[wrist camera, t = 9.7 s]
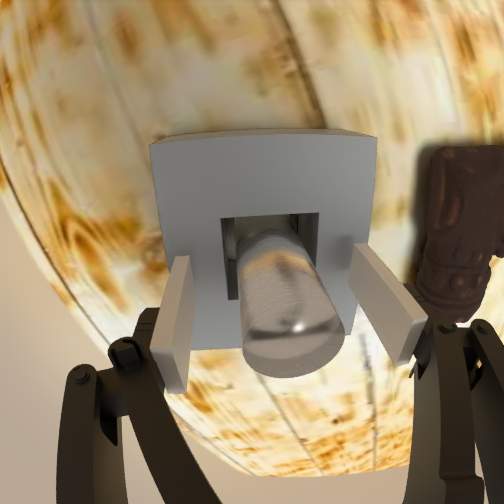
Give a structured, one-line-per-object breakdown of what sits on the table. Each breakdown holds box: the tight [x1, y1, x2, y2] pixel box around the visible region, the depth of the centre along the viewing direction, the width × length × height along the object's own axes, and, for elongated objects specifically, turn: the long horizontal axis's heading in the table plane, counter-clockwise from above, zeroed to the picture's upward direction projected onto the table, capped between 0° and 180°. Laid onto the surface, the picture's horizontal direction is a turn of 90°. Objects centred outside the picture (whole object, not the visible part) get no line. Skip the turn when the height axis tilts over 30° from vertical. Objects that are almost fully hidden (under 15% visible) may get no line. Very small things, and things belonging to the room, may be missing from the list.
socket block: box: [149, 128, 377, 350], centre depth 19 cm, size 14×12×5 cm
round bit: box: [234, 214, 345, 378], centre depth 16 cm, size 4×4×12 cm
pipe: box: [414, 145, 504, 323], centre depth 19 cm, size 10×15×15 cm
